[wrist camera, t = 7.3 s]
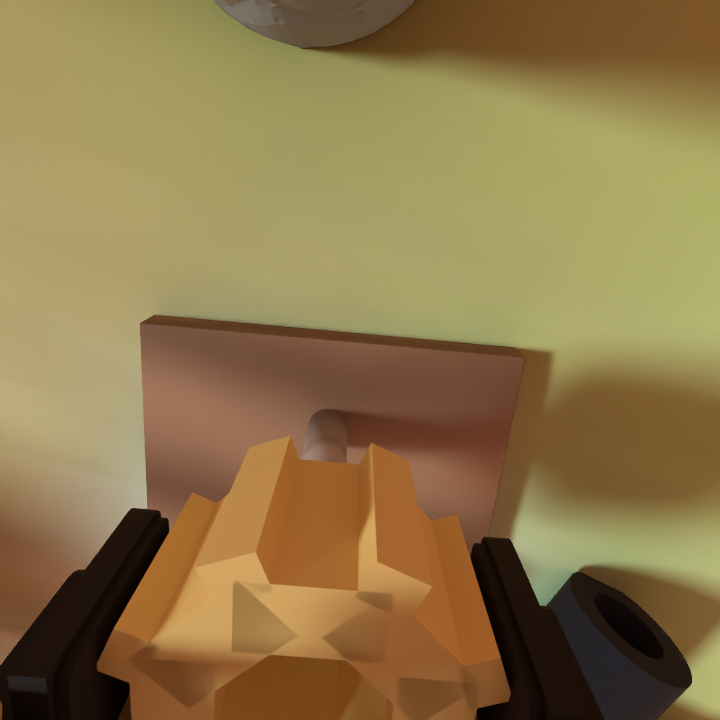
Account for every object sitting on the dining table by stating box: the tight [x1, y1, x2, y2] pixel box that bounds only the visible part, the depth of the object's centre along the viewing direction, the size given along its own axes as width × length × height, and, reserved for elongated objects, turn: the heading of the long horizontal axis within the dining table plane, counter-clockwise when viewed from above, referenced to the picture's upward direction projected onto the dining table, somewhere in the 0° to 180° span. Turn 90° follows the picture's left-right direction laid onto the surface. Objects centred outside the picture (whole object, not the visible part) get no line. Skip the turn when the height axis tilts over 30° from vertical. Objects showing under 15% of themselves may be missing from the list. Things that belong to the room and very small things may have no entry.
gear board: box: [140, 315, 525, 557], centre depth 17 cm, size 14×13×6 cm
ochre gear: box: [97, 436, 511, 720], centre depth 10 cm, size 6×6×4 cm
